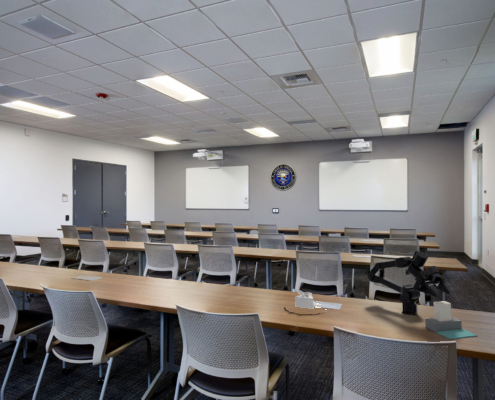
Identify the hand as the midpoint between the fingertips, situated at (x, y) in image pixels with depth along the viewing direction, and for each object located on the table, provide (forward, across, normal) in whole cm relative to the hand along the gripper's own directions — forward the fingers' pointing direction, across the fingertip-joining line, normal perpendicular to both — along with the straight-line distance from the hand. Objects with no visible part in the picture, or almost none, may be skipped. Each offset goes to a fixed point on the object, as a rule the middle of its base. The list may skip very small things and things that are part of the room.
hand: (443, 294), depth 166 cm
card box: (+8, -6, +7) cm, 12 cm away
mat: (+17, -7, +7) cm, 19 cm away
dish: (-39, -44, +40) cm, 71 cm away
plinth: (+10, -6, +10) cm, 16 cm away
